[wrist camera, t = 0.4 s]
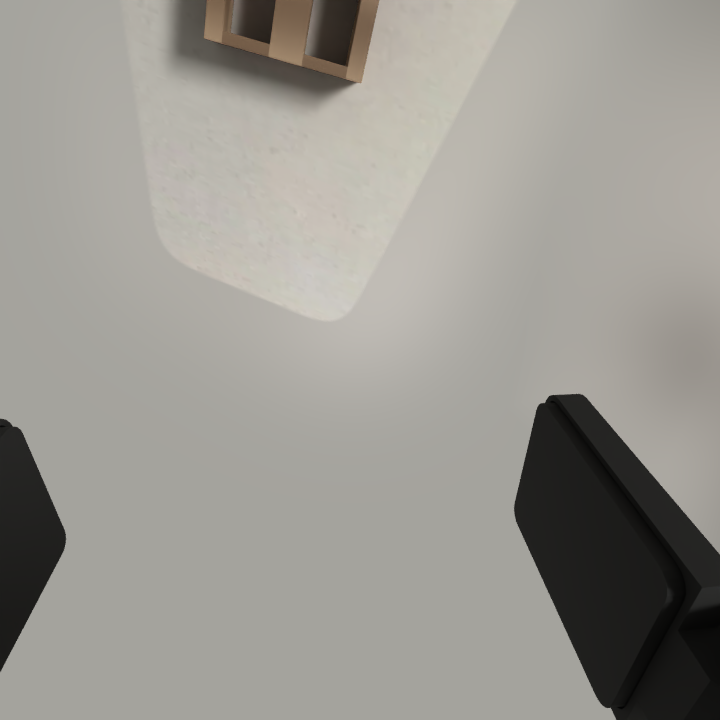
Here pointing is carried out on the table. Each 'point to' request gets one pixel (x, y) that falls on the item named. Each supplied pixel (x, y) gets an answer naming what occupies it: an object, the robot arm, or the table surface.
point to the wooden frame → (295, 35)
